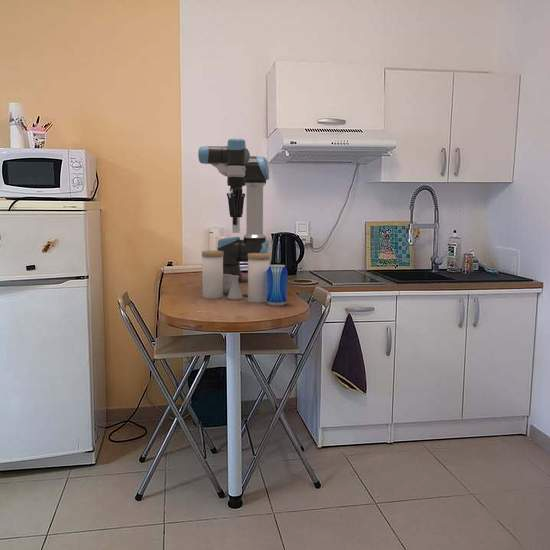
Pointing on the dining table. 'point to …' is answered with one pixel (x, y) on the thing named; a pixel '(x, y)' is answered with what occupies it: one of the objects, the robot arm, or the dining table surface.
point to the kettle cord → (242, 294)
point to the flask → (235, 289)
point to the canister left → (212, 274)
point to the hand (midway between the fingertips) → (236, 232)
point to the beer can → (276, 285)
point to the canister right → (257, 276)
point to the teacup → (227, 282)
